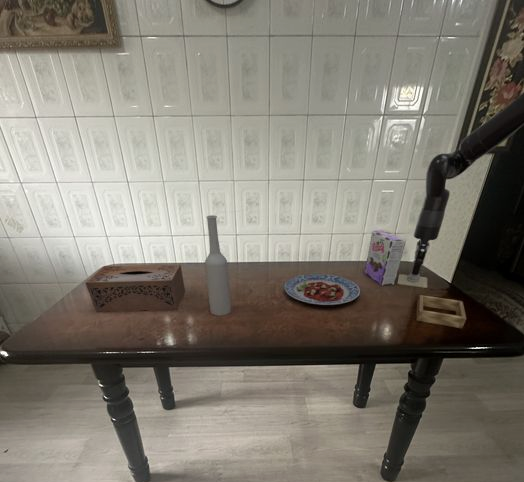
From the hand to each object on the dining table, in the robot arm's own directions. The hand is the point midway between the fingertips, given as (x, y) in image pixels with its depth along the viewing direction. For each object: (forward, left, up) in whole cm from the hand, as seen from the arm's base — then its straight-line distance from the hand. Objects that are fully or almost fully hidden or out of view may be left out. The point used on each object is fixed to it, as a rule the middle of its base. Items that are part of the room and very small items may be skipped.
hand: (415, 272), depth 112 cm
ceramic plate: (+29, +24, -4) cm, 38 cm away
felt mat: (0, 0, -4) cm, 4 cm away
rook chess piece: (0, 0, -3) cm, 3 cm away
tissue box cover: (+83, +53, -4) cm, 99 cm away
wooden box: (-8, +26, -4) cm, 27 cm away
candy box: (+12, +2, -4) cm, 13 cm away
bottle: (+55, +49, -4) cm, 74 cm away
